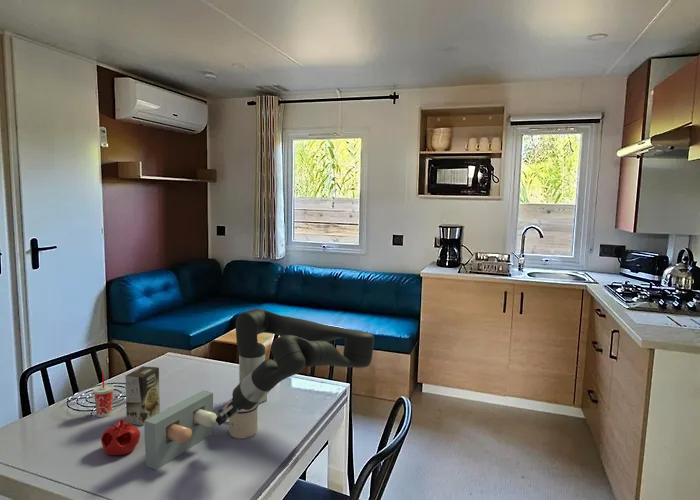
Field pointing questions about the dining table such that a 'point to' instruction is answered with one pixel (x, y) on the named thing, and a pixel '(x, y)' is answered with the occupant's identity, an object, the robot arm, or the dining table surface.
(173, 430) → the terracotta button
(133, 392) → the coffee box
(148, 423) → the button panel
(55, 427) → the dining table surface
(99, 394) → the beverage cup
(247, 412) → the teacup with lid
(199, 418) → the cream button
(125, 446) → the tomato
